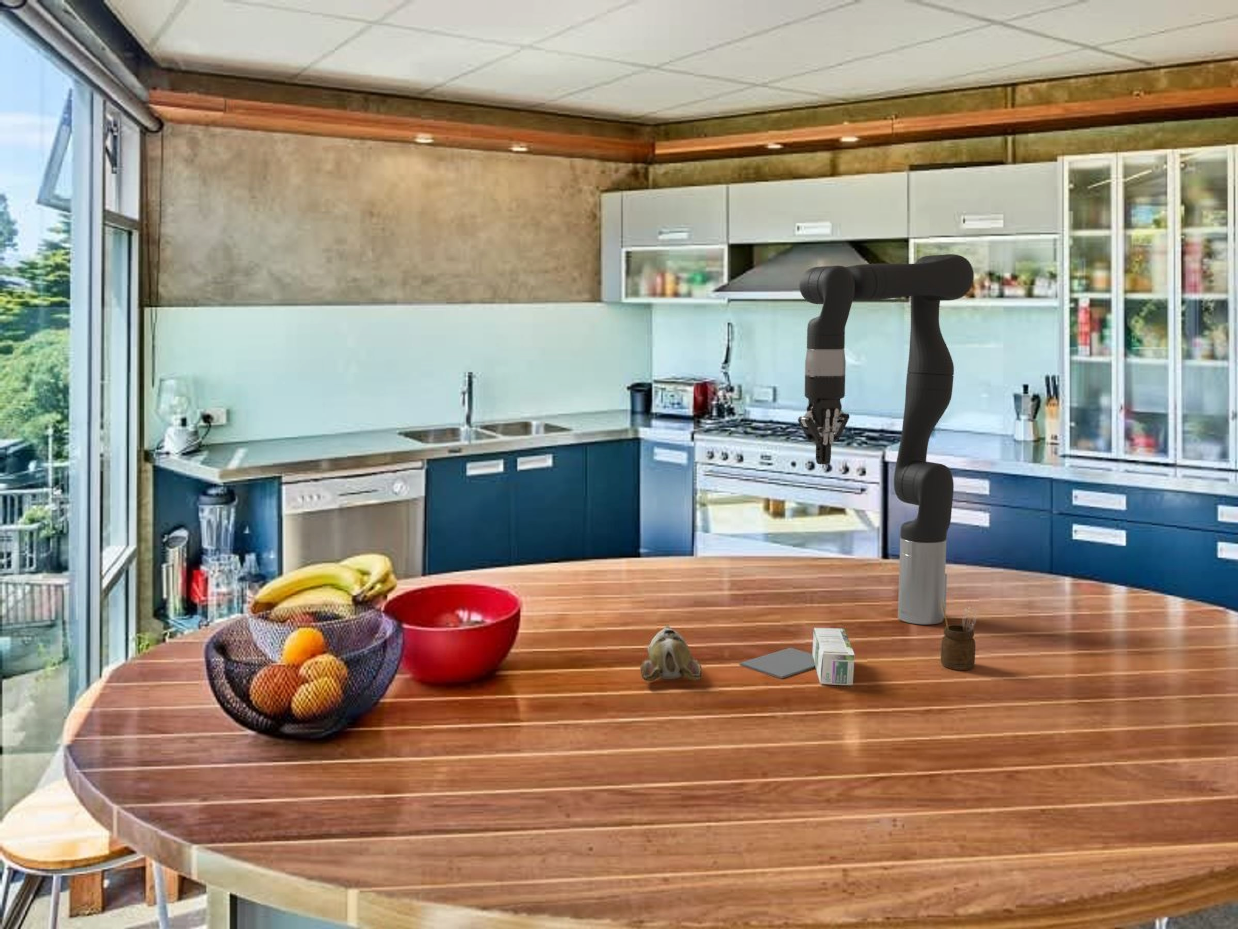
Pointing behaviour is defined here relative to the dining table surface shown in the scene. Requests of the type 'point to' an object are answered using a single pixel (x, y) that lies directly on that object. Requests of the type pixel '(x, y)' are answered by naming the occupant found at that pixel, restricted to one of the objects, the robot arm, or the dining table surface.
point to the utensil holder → (958, 645)
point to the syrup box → (833, 656)
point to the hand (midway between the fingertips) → (823, 463)
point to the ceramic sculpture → (669, 658)
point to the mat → (782, 663)
